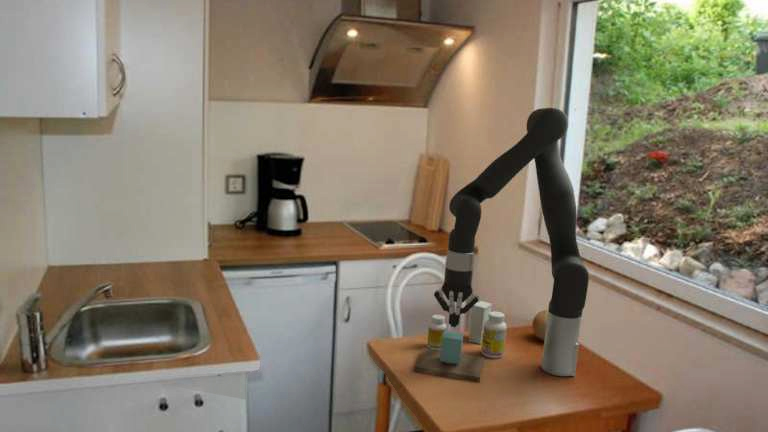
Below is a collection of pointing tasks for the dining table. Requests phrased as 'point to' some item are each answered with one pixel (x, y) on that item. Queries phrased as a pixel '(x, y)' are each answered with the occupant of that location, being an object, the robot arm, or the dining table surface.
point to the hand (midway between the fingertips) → (453, 326)
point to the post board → (449, 366)
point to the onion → (540, 324)
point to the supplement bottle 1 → (436, 332)
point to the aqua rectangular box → (451, 347)
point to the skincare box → (479, 321)
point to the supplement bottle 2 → (494, 335)
